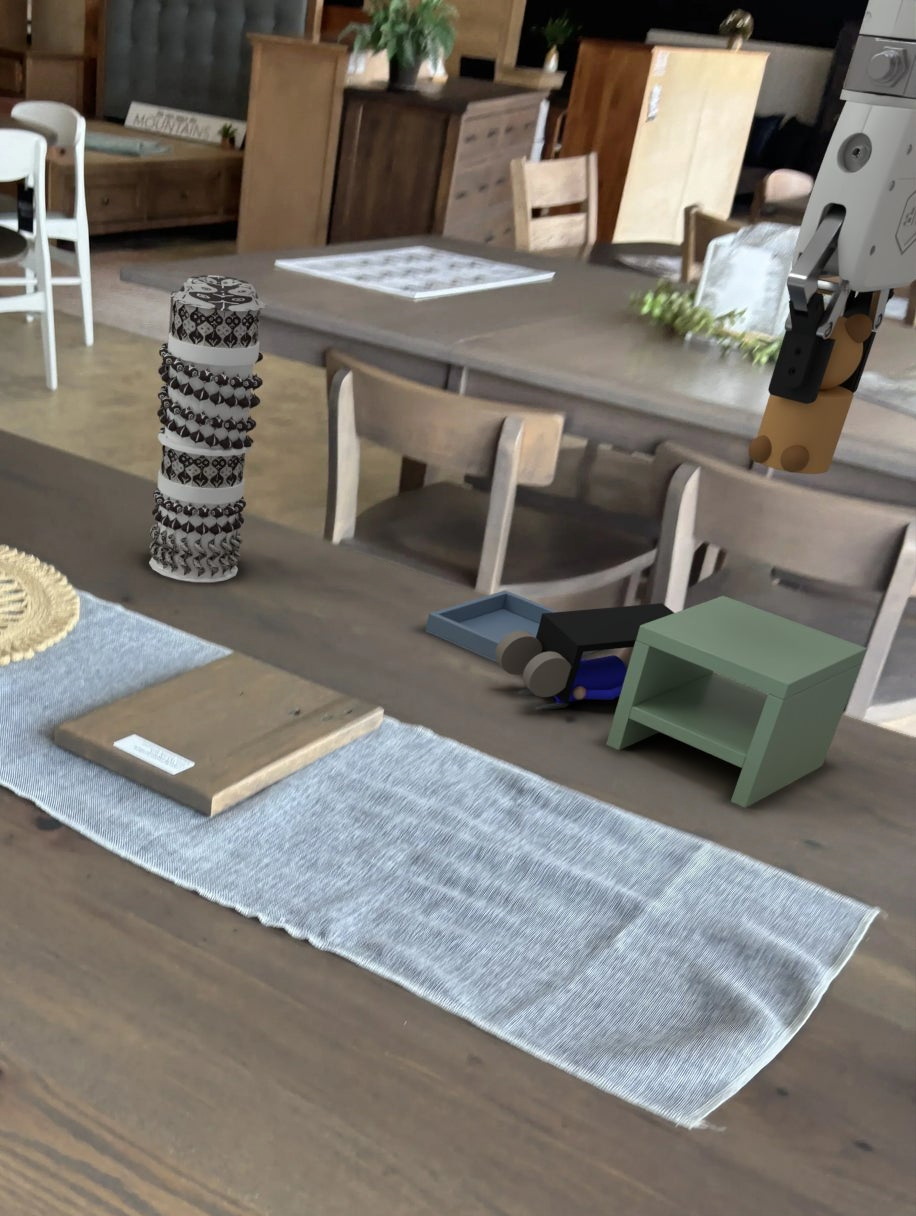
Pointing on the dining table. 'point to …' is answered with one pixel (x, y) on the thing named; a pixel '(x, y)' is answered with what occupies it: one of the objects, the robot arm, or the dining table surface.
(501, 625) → the tray
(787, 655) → the shelf
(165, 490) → the decorative candle
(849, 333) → the toy bear
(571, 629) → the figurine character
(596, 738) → the dining table surface
